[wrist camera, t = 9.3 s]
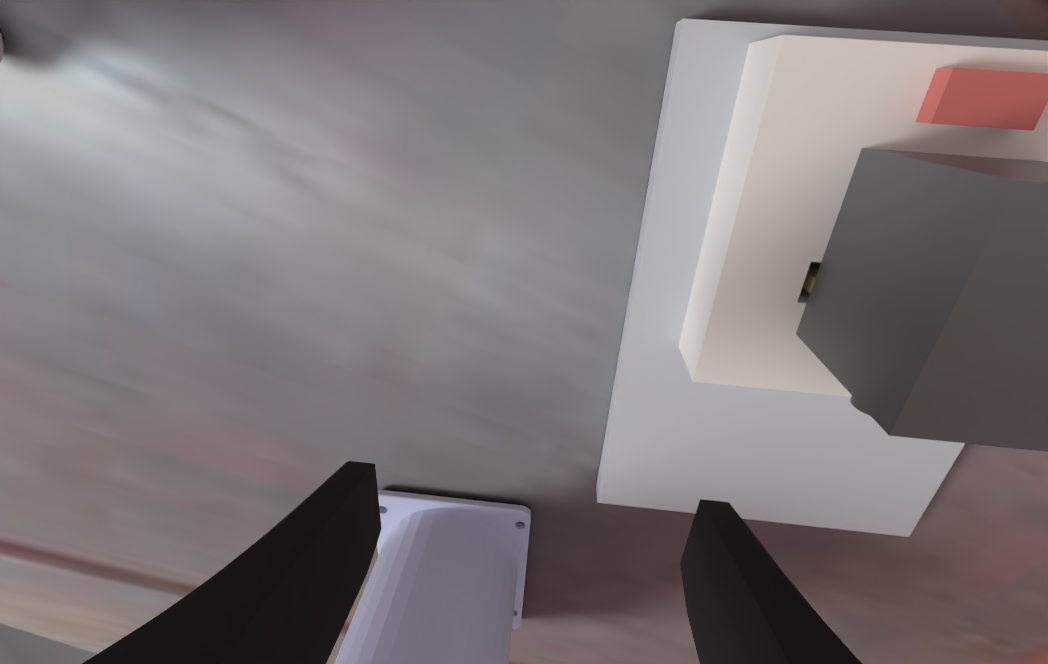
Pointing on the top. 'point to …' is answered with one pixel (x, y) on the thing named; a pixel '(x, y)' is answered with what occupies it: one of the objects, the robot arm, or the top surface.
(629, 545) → the top surface
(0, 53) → the light bulb
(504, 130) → the top surface
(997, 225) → the plug
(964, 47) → the socket plate
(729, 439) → the socket mat
